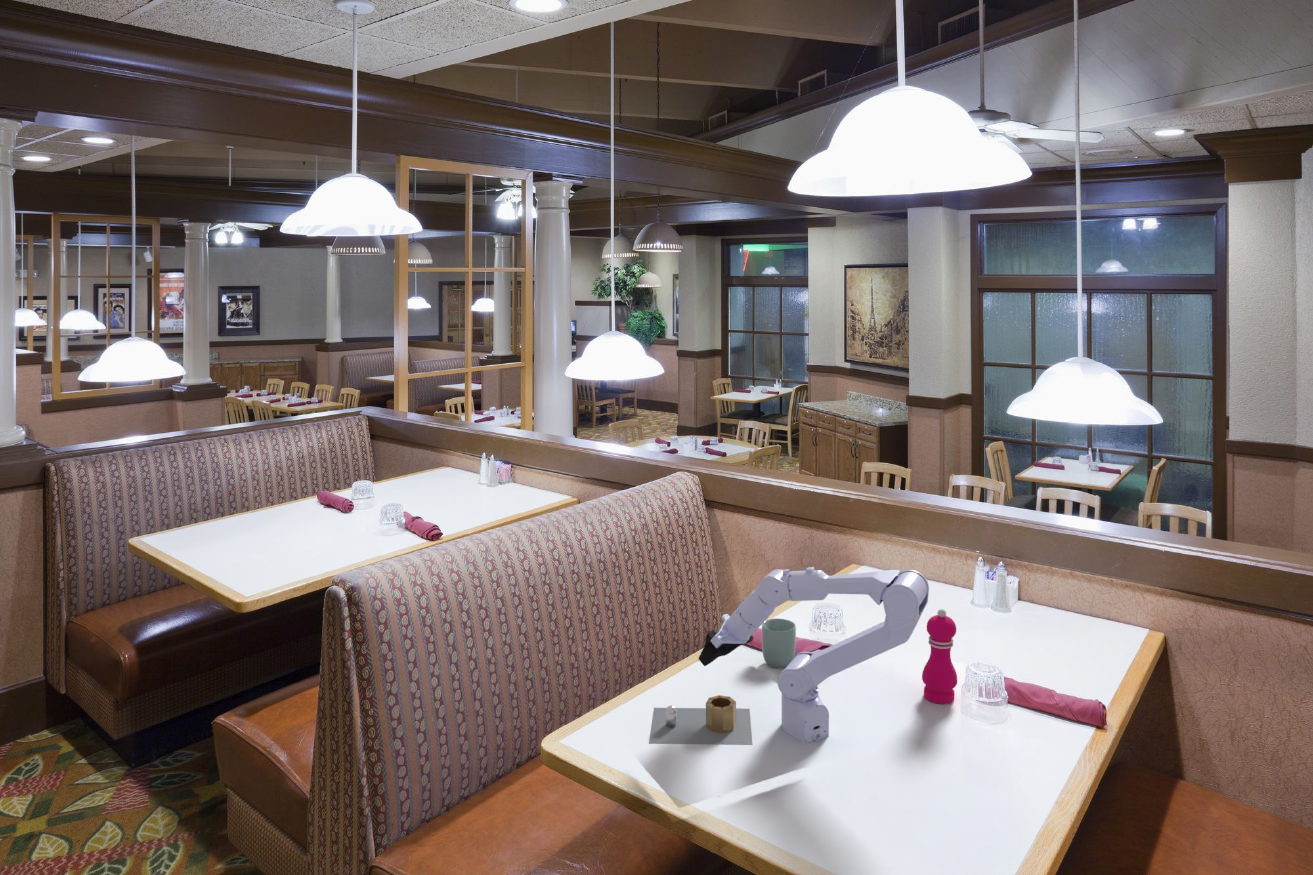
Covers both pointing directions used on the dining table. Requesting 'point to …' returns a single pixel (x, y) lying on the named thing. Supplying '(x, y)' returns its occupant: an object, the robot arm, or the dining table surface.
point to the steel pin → (671, 717)
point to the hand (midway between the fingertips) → (712, 656)
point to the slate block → (698, 728)
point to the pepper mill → (940, 660)
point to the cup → (778, 642)
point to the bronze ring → (721, 714)
